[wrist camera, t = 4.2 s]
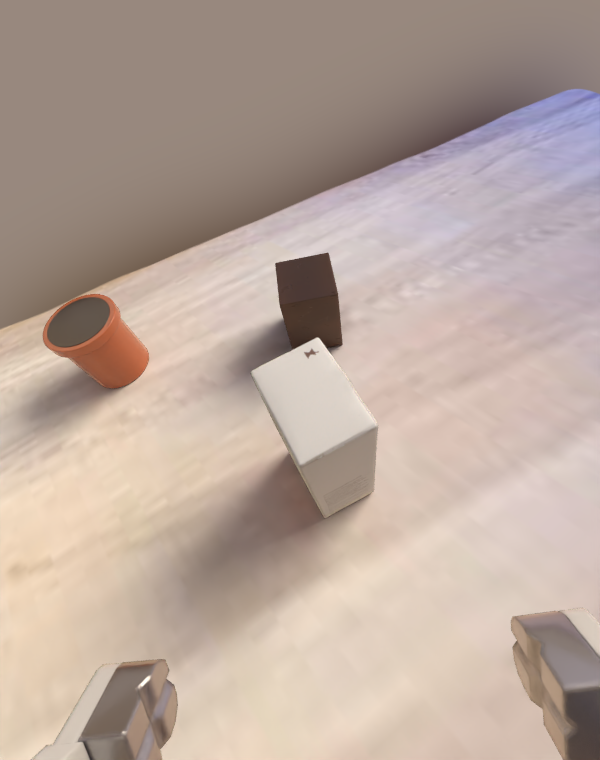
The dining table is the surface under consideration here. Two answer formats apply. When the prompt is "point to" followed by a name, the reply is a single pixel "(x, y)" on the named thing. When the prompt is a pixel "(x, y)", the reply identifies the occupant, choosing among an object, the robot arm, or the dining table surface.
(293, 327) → the walnut block
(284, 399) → the cosmetic box
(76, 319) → the flower pot
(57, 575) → the dining table surface
